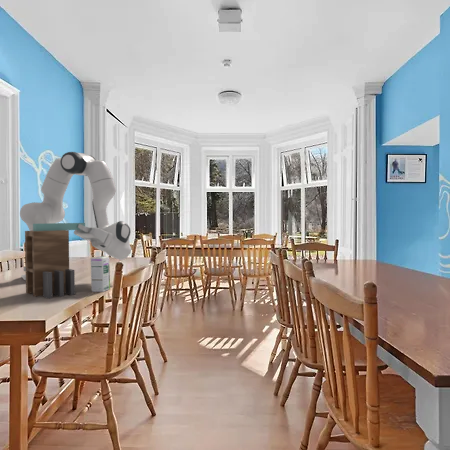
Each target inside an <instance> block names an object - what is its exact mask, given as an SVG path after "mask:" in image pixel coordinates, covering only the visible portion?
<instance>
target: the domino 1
mask: <svg viewBox="0 0 450 450" xmlns="http://www.w3.org/2000/svg"><path fill="white" fill-rule="evenodd" d="M42 297H44V298H45V299H52V298H53V294H52V272H48V271H44V272H43V295H42Z"/></svg>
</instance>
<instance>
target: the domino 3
mask: <svg viewBox="0 0 450 450" xmlns="http://www.w3.org/2000/svg"><path fill="white" fill-rule="evenodd" d="M75 275H76V274H75V269H71V268H69V269H65V284H66V292H65V294H67V295H70V296H72V295H73V296H74V295H75V294H76V291H75V289H76V288H75V287H76V285H75Z"/></svg>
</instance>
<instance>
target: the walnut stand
mask: <svg viewBox="0 0 450 450" xmlns="http://www.w3.org/2000/svg"><path fill="white" fill-rule="evenodd" d="M69 232H70V230H56V231H30V230H25V231H24V253H25V259H24V260H25V267H26V271H25V274H26V280H25V294H27V295H28V294H32V296H33V297H41V296H42V297H43V272H44V271H48V272H52V295H55V285H54V270H60V271H63V273H64V293H66V284H65V269H70V237H69V236H70V233H69Z"/></svg>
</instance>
